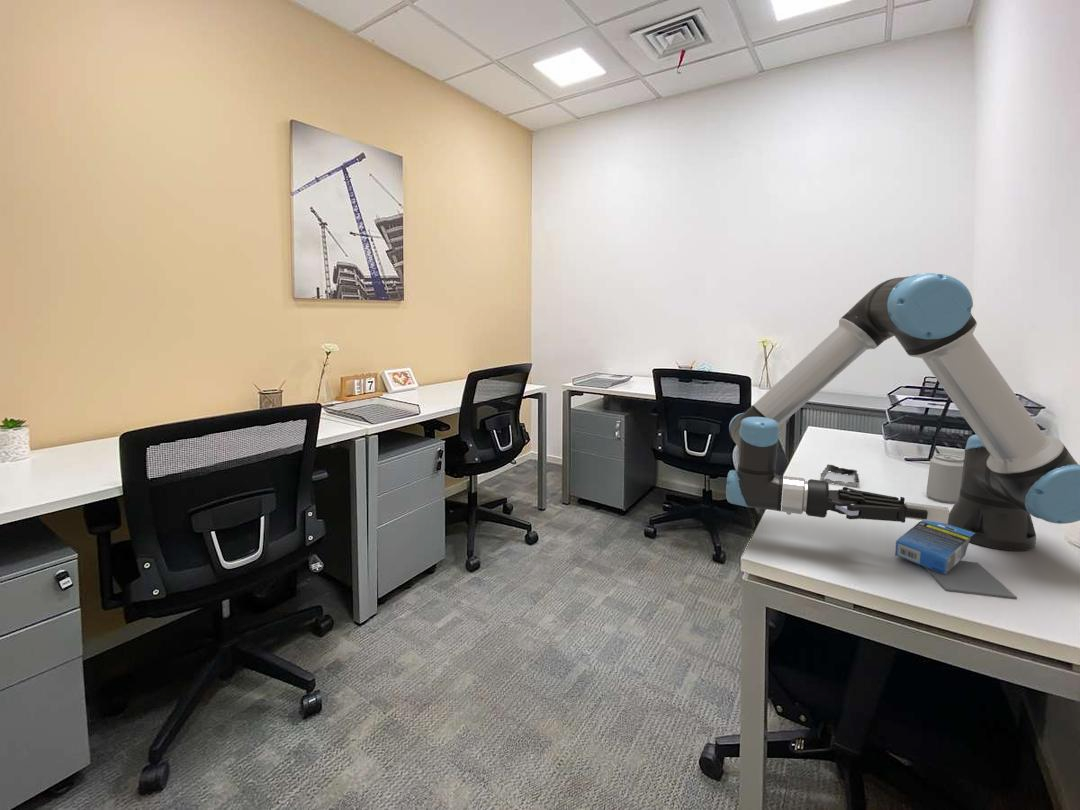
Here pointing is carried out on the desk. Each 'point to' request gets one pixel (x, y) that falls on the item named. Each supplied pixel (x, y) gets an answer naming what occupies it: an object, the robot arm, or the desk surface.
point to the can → (945, 478)
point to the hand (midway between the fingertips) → (947, 515)
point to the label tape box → (934, 545)
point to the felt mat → (971, 580)
